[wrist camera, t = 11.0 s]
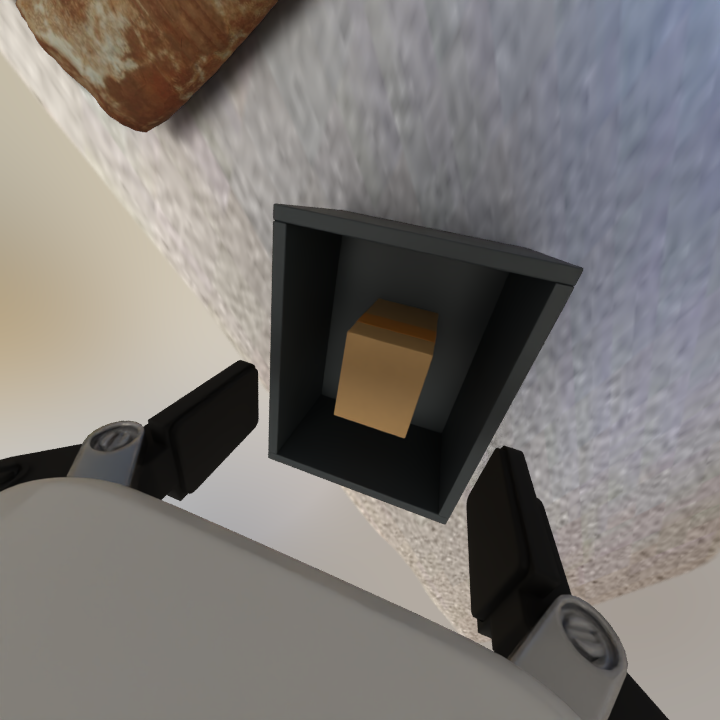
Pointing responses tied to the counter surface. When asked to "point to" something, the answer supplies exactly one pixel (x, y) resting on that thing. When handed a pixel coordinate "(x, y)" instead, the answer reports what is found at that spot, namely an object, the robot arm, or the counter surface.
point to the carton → (386, 366)
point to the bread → (142, 48)
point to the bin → (450, 357)
